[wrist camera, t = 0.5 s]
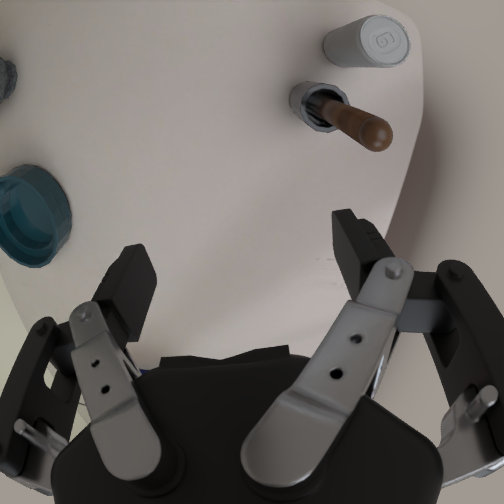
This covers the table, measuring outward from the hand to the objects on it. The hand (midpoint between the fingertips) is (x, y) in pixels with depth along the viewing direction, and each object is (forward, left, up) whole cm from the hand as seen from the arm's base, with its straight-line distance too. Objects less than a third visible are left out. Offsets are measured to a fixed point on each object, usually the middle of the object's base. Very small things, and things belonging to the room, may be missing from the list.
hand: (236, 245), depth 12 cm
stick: (+4, +7, -24) cm, 26 cm away
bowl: (-22, -26, -25) cm, 42 cm away
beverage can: (+3, +15, -25) cm, 29 cm away
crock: (+4, +7, -25) cm, 26 cm away
